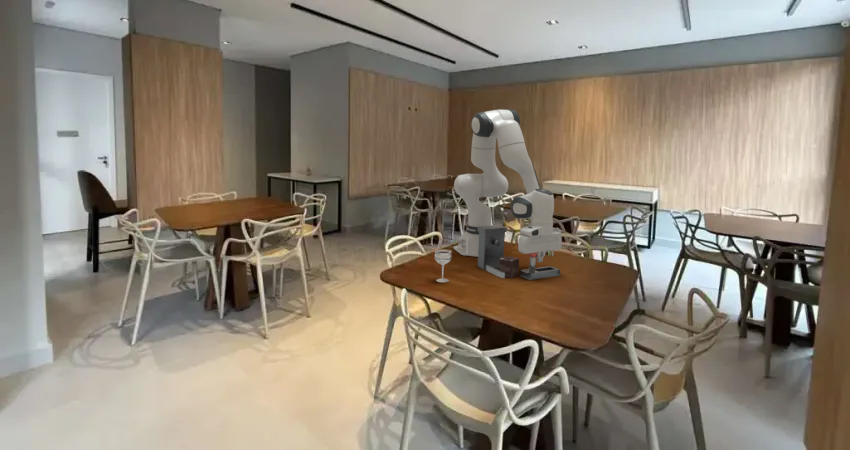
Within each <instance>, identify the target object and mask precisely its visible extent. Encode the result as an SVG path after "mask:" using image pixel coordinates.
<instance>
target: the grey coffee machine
mask: <svg viewBox="0 0 850 450" xmlns="http://www.w3.org/2000/svg"><path fill="white" fill-rule="evenodd" d="M507 229H508V227H506V226H503V225H499V224H496V225H491V226H481V227H478V230H477V231H478V232H479V246H478V257H477V267H478V268H479V269H481V270H485V271H486V272H487V273H490V274H493V275H494V276H496V277H499V278H501V279H505V278H506V277H505V272H503V271H501V270H499V259H500V258H503V257H505V256H504V255H505V235H506V233H507V231H508V230H507Z"/></svg>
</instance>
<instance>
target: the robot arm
mask: <svg viewBox="0 0 850 450" xmlns="http://www.w3.org/2000/svg"><path fill="white" fill-rule="evenodd" d="M470 122H471V123H470V126H471V130H472V132H473V133H472V138H471V139H472V140H471V153H470V154H471V156H470V162H471V163H472V164H473V166H475V167H476V168H478V169H480V170H481V171H483V173H464V174H459V175H457V177H456V178H455V179H454V182H453V183H454V184H453V189H454V191H455V193H456V194H457V195H458V196H459V197H460V198H461V199H462V200H463V201H464V203H465V205H466V207H467V214H468V215H467V216H468V217H467V219H468V224H465V228H466V229H465V232H464V233H463V234H461V236H459V237H458V240H457V243H458V244H457V245H455V246H452V247H453V250H455V251H456V252H457V253H458V254H460V255H462V256H468V257H469V256H470V257H477V258H478V246H479V232H478V231H477V230H478V227H481V226H492V209H491V208H490V206H488V205H486V204H485V203H483V202H481V201H480V198H495V197H496V198H497V197H503V196H504V195H506V193H507V192H508V189H509V181H508V179H507V177H506V176H505V175H503V174H502V173H501V171H500V170H499V169H498V167H497V164H496V149H497V148H496V147H498V153H499V156H500V159H501V161H502V163H503V165H505V166H506V167H507V168H509V169H511V170H513V171H515V172H517V173H518V174H519V175H520V177H521V178H522V182H523V185H524V189H525V191H526V194H523V195H520V196H516V197H514V198H513V199H512V200H511V203H510V212H511V214H512V215H513V216H514V217H515V218H517V219H521V220H524V219H530V223H529V224H527V225H525V226H523V227H522V228H520V229H519V233H520V236H519V238H518V247H517V249H518V252H519V253H521V254H523V255H527V254H528V255H529V253H536V252H537V253H538V255H537V256H536V262H537V263H543V262H544V257H545V255H546V254H547V253H546V251H552V250H554V251H560V250H561V249H562V245H563V243H562V242H563V241H562V229H561V228H559V227H553V226H554V220H553V216H554V213H555V210H554V209H555V197H554V194H553V192H552V191H551V190H549V189H544V188H542V187H541V185H540V182H539V178H538V175H537V173H536V169H535V165H534V164H533V161H532V159H531V158H530V156H529V153H528V150H527V146H526V142H525V138H524V135H523V132H522V128H521V123H520V122H521V119H520V115H519V113H518V112H517V111H516V110H514V109H509V108H507V109H493V110H487V111H479V112H477V113H475V114H474V115H473V116H472V119H471V121H470Z"/></svg>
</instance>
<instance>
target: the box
mask: <svg viewBox="0 0 850 450" xmlns="http://www.w3.org/2000/svg"><path fill="white" fill-rule="evenodd" d="M519 268H520V258H518V257H513V256H509V255H506V256H504V257H503V258H500V259H499V268H498V270H501V271H503V272H505V278H508V279H509V278H510V279H512V278H515V277H518V275H519V271H520V270H519Z"/></svg>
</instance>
